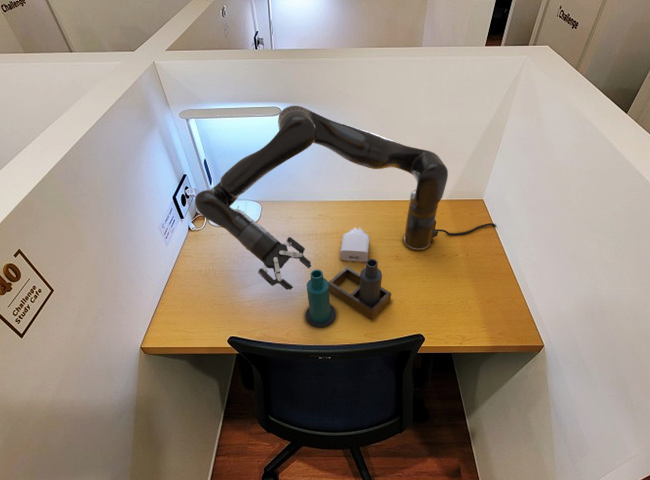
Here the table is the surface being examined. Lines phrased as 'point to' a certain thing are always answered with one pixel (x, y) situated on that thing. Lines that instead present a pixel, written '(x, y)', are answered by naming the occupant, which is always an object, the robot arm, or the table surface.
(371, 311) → the caddy
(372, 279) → the charcoal bottle
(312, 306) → the teal bottle
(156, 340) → the table surface
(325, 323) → the coaster
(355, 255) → the charger
